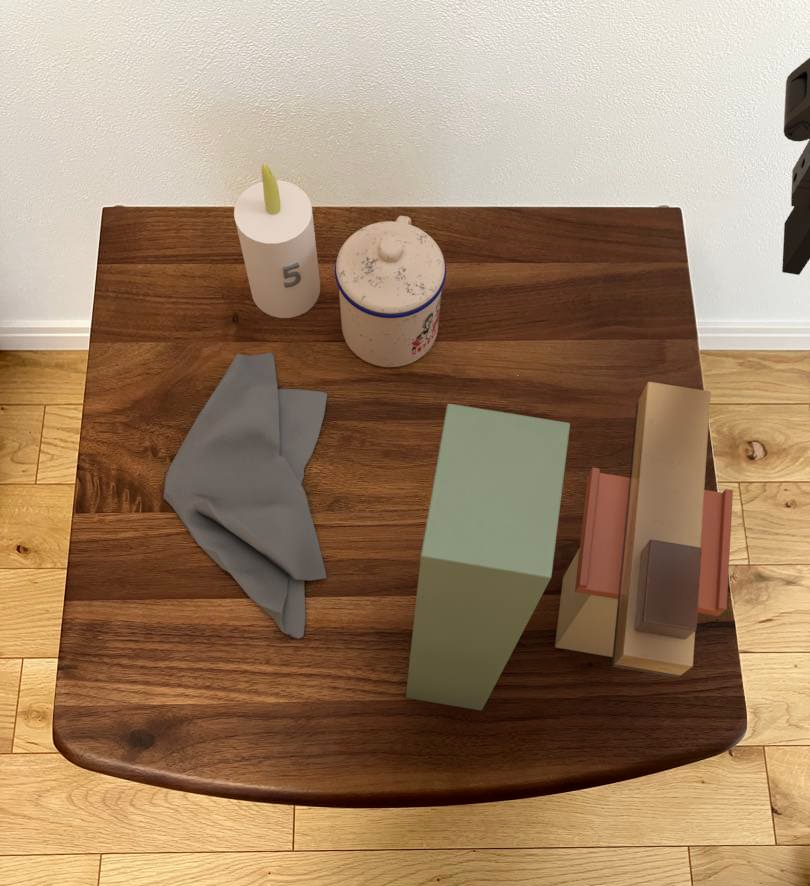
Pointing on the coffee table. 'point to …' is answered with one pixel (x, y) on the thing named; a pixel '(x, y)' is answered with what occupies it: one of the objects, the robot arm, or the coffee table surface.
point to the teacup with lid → (390, 292)
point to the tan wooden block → (663, 532)
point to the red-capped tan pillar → (600, 557)
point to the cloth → (254, 486)
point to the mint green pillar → (484, 550)
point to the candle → (278, 246)
